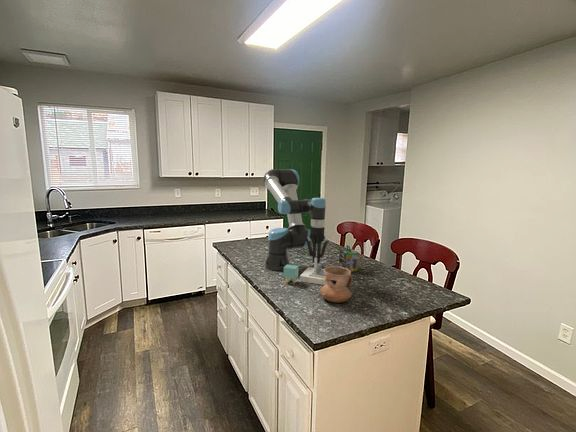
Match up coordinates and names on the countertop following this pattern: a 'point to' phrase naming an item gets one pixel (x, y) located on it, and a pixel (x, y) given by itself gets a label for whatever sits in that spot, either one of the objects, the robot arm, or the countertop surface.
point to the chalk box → (349, 259)
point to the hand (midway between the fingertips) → (316, 268)
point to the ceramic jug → (336, 284)
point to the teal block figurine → (290, 273)
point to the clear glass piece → (319, 270)
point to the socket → (312, 276)
